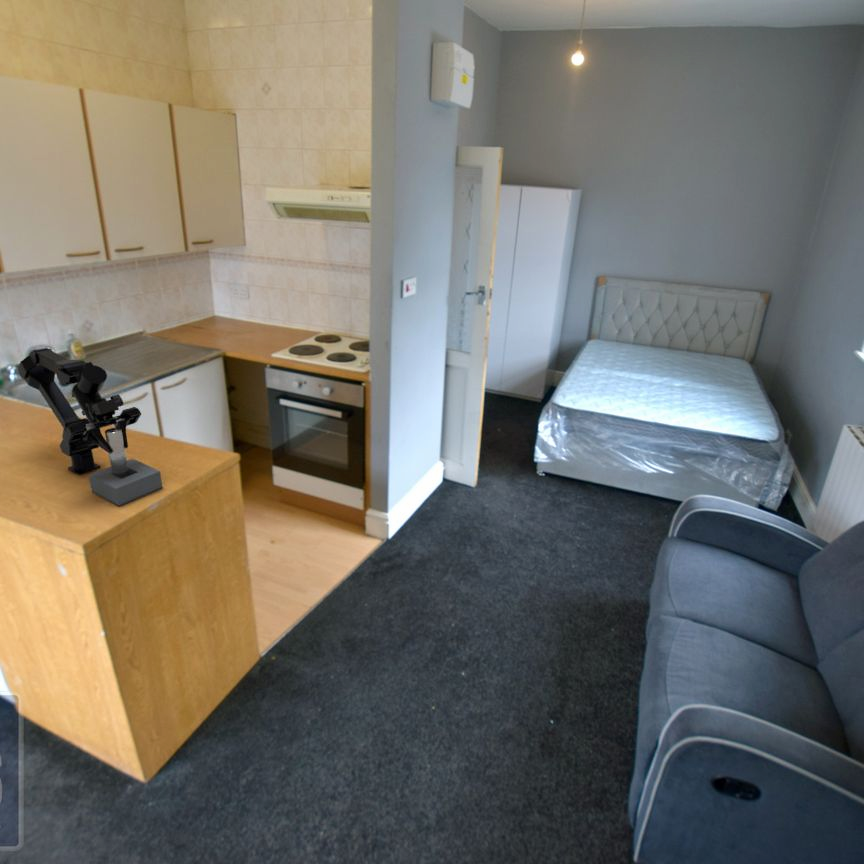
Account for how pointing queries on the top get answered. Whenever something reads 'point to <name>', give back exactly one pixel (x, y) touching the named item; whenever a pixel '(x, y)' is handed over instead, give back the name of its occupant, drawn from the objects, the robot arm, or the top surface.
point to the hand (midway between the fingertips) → (119, 450)
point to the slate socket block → (125, 483)
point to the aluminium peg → (116, 450)
